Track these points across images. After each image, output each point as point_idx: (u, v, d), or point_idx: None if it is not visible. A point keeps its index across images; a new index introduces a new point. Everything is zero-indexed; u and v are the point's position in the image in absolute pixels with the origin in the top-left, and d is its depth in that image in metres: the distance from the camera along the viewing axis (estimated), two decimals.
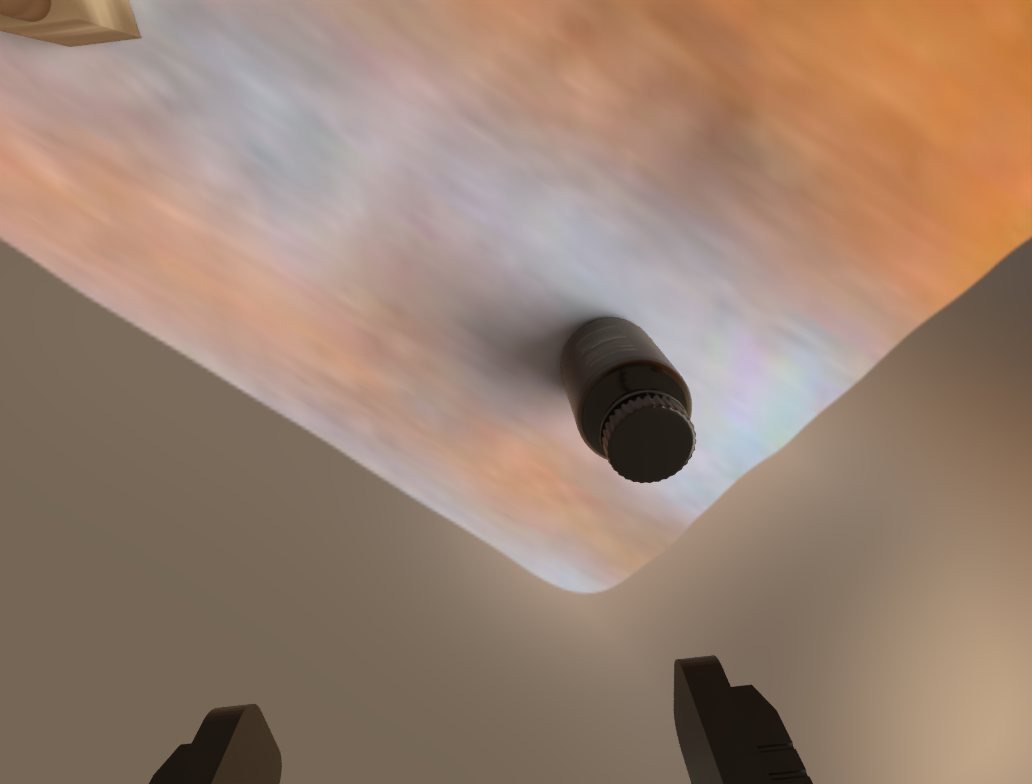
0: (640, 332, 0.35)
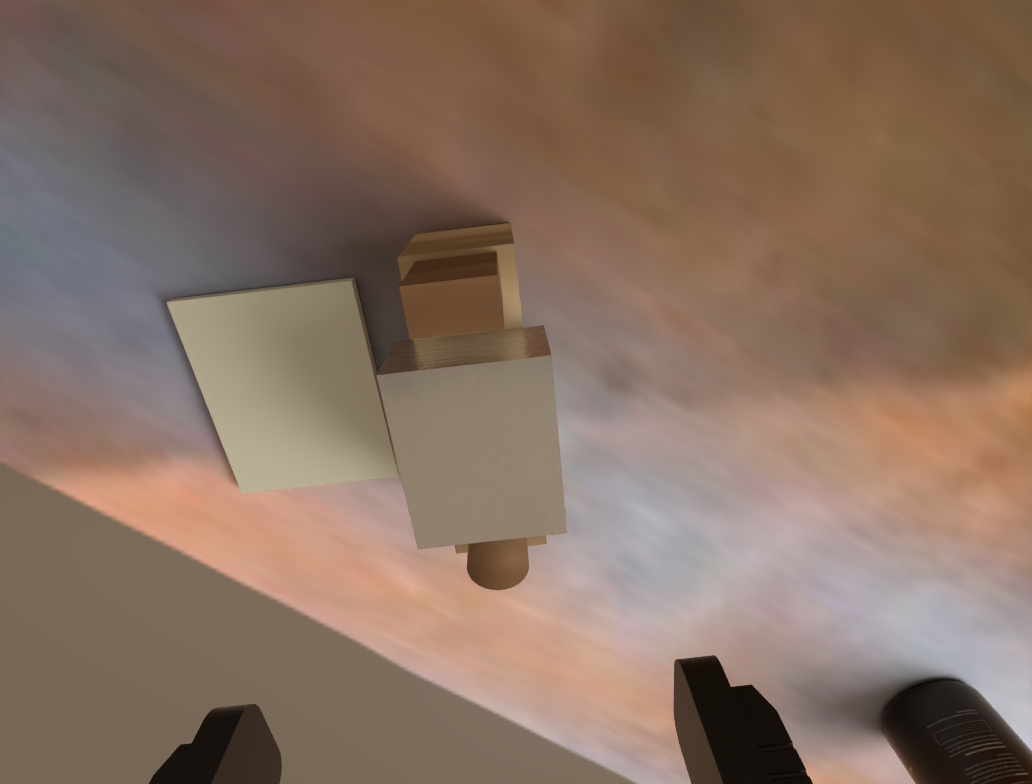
0: (997, 718, 0.34)
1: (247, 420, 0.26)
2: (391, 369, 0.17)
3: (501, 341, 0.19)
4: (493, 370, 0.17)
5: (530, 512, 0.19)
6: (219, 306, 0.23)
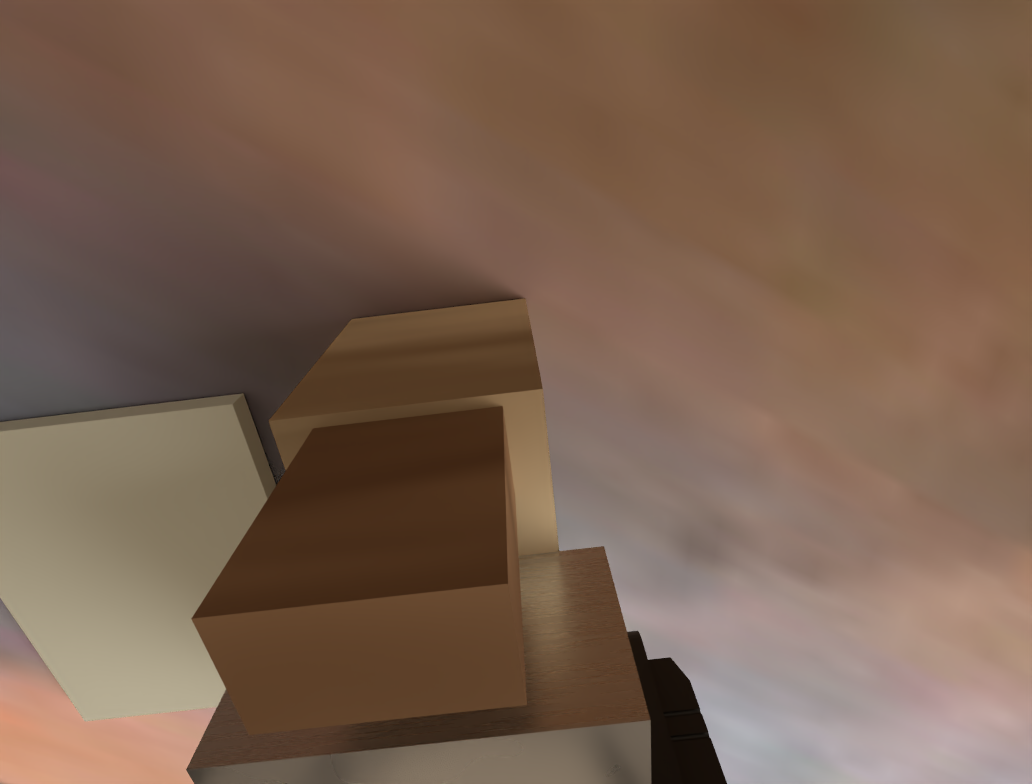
0: None
1: (76, 621, 0.15)
2: (232, 736, 0.07)
3: None
4: (495, 752, 0.06)
5: None
6: None
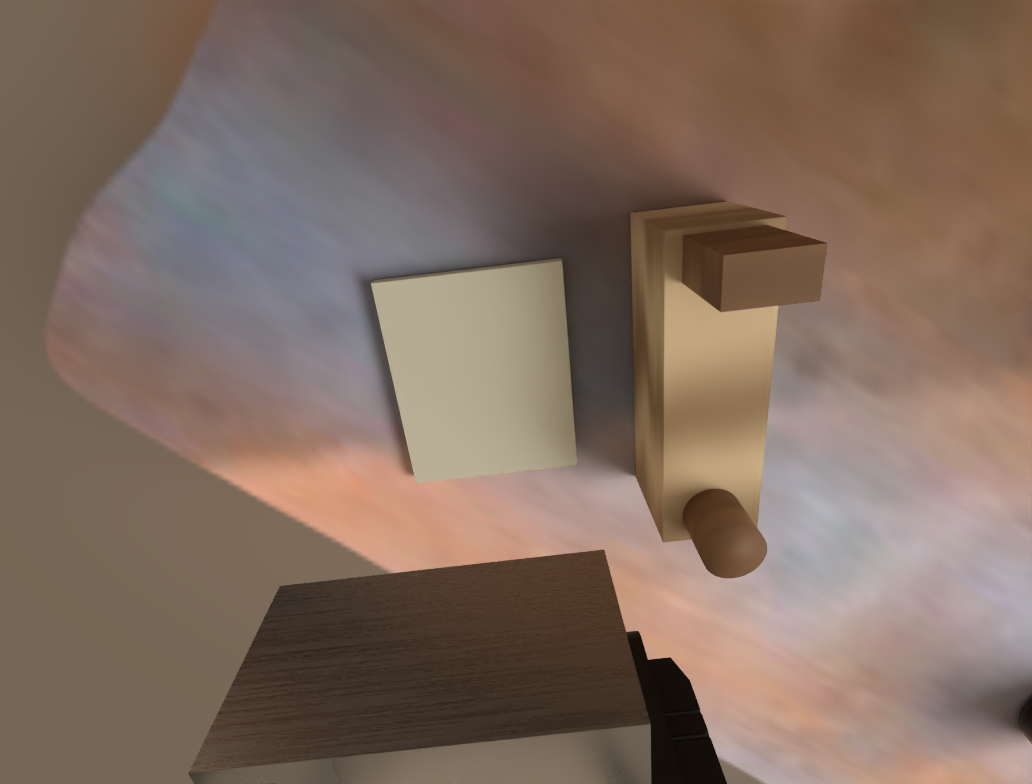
0: None
1: (433, 406, 0.25)
2: (235, 738, 0.07)
3: (514, 616, 0.08)
4: (496, 755, 0.07)
5: None
6: (424, 288, 0.23)
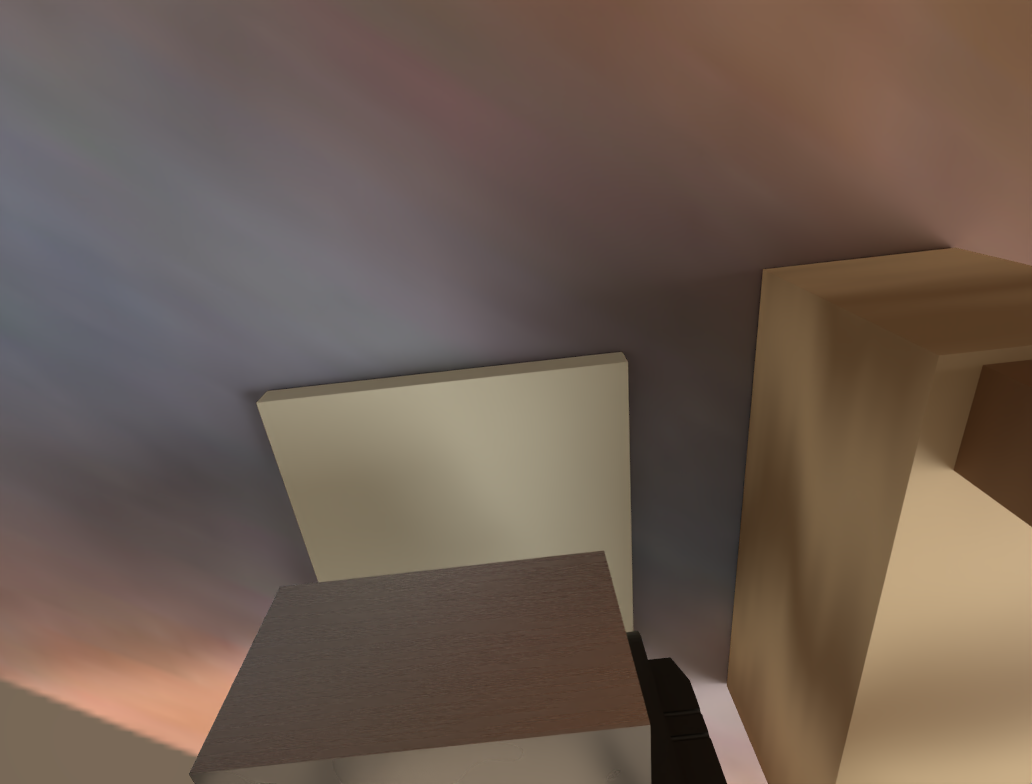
0: None
1: None
2: (235, 740, 0.07)
3: (514, 617, 0.08)
4: (496, 756, 0.07)
5: None
6: (360, 411, 0.12)
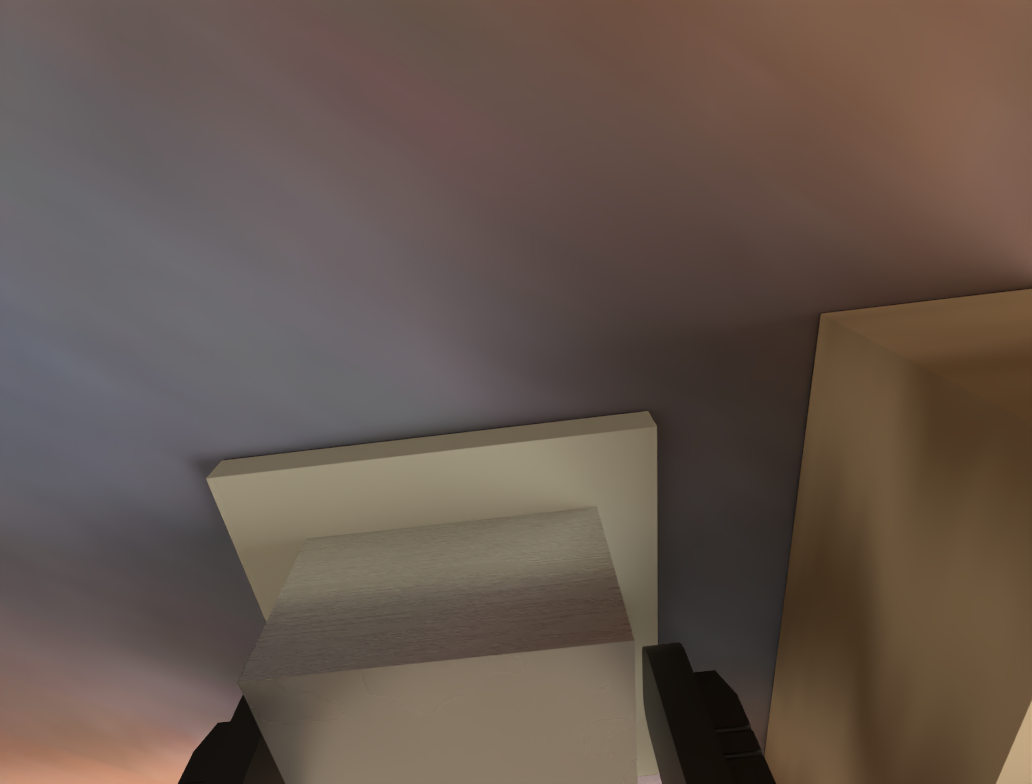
0: None
1: None
2: (275, 656, 0.08)
3: (517, 560, 0.09)
4: (502, 669, 0.08)
5: None
6: (332, 486, 0.10)
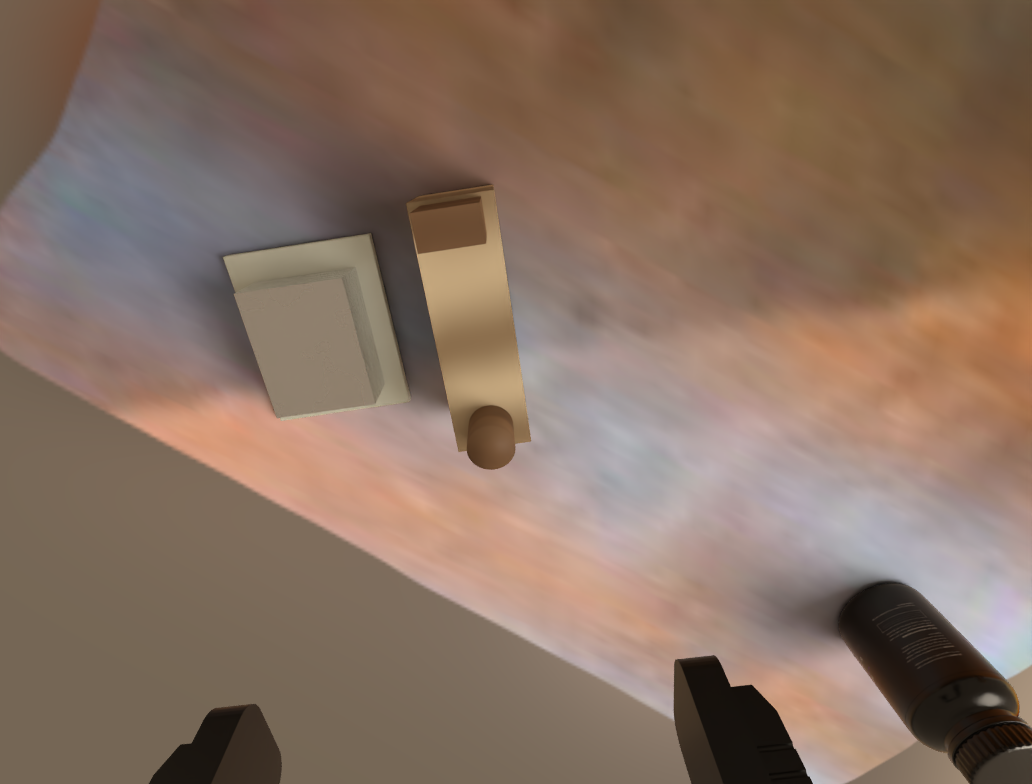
0: (933, 609, 0.39)
1: None
2: (244, 291, 0.27)
3: (321, 275, 0.29)
4: (307, 289, 0.27)
5: (348, 389, 0.29)
6: (264, 259, 0.29)
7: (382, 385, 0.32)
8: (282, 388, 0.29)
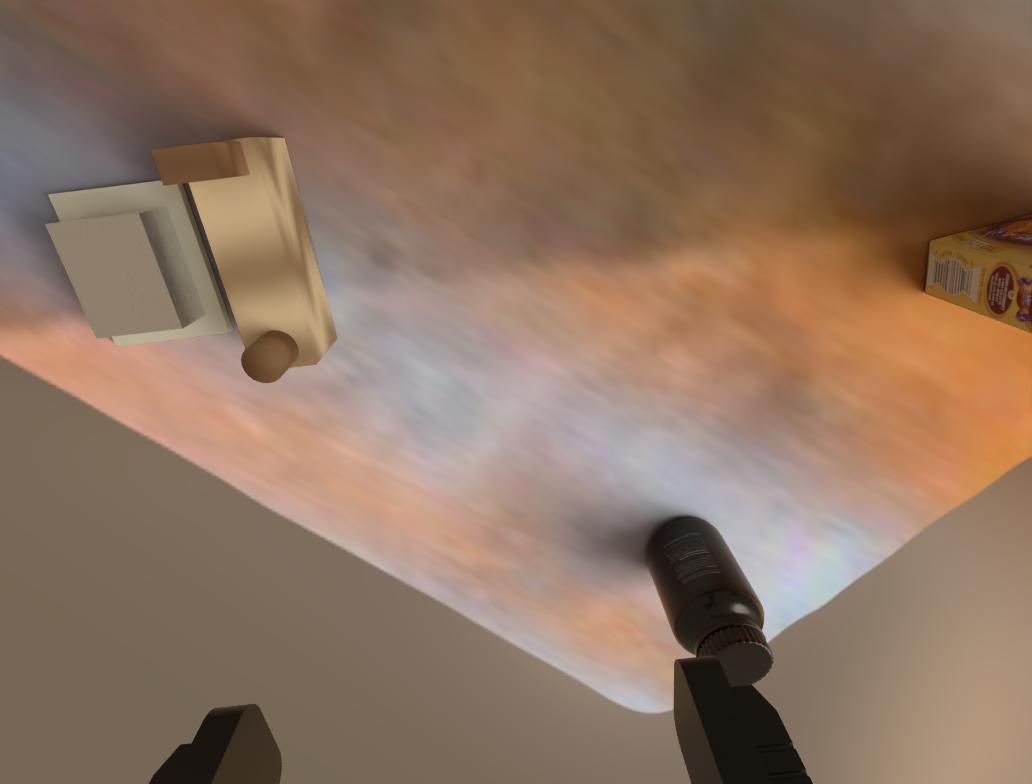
0: (716, 538, 0.44)
1: None
2: (56, 222, 0.32)
3: (131, 212, 0.33)
4: (108, 221, 0.31)
5: (156, 314, 0.34)
6: (85, 198, 0.34)
7: (199, 315, 0.36)
8: (98, 311, 0.34)
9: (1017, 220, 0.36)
